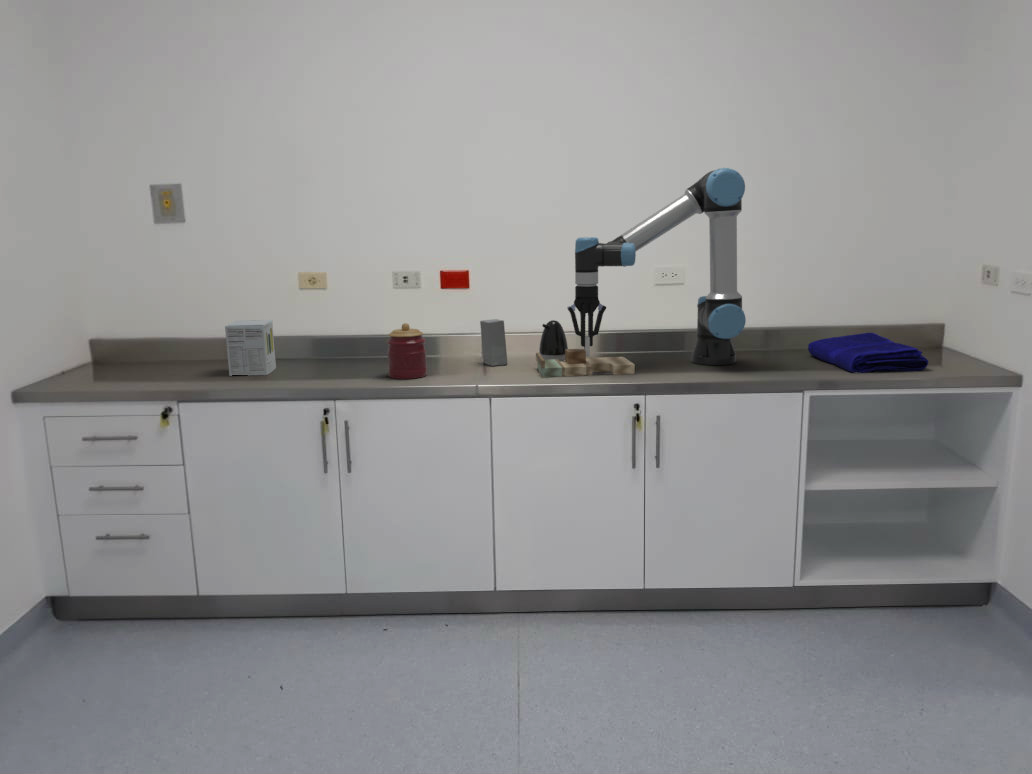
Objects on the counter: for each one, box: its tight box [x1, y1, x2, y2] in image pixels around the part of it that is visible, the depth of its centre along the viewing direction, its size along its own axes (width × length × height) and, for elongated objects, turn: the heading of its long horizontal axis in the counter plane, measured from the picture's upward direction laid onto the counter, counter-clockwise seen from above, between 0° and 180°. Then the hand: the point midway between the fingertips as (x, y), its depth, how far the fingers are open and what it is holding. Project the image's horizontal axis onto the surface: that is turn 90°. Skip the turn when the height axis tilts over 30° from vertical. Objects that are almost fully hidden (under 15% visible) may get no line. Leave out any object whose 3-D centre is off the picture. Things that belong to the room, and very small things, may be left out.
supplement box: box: [224, 319, 277, 377], centre depth 285 cm, size 13×13×18 cm
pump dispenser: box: [538, 319, 569, 362], centre depth 291 cm, size 10×10×15 cm
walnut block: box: [564, 348, 587, 364], centre depth 275 cm, size 6×6×4 cm
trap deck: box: [535, 352, 636, 378], centre depth 275 cm, size 30×16×6 cm, turn 96°
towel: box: [807, 332, 929, 374], centre depth 279 cm, size 26×36×9 cm
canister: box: [386, 322, 428, 380], centre depth 272 cm, size 13×13×18 cm
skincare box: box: [479, 318, 508, 367], centre depth 291 cm, size 8×7×16 cm
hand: (586, 356), depth 275 cm, fingers closed
